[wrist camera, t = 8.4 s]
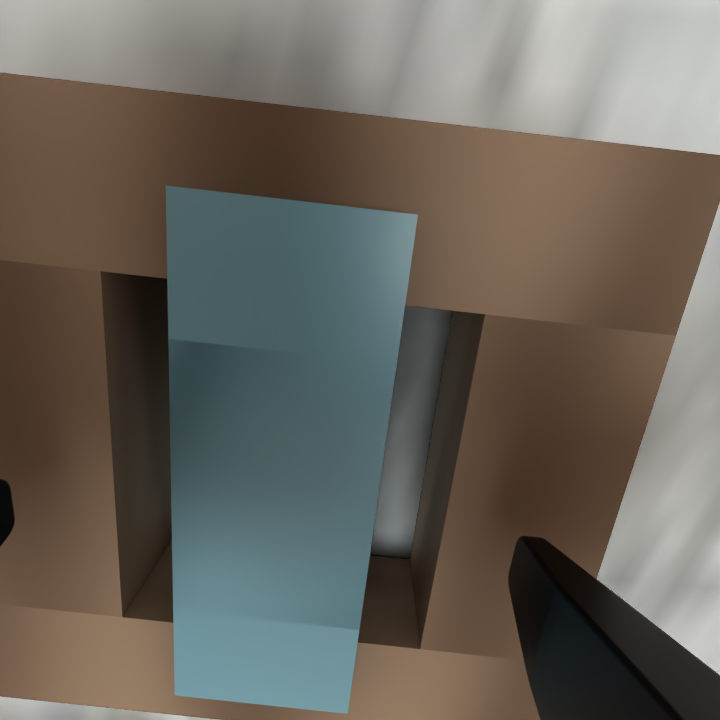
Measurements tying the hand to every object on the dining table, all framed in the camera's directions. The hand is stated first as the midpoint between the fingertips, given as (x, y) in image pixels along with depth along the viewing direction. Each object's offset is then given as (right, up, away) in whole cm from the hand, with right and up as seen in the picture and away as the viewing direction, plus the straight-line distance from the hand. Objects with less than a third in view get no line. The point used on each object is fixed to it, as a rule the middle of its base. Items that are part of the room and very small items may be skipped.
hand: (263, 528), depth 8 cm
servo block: (0, +1, +4) cm, 4 cm away
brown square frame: (0, +1, +4) cm, 4 cm away
